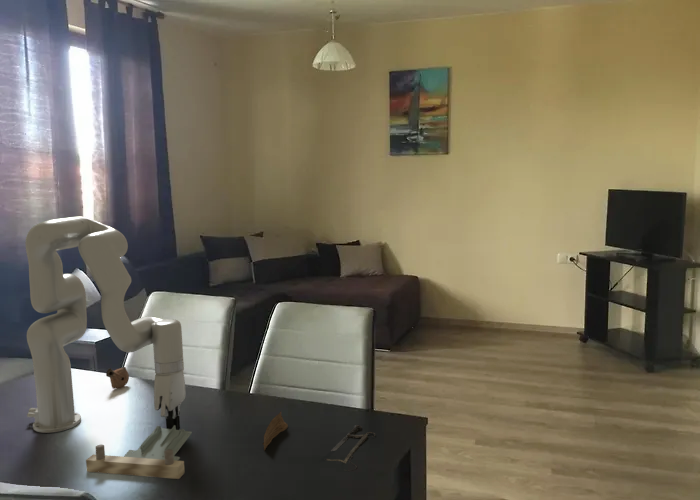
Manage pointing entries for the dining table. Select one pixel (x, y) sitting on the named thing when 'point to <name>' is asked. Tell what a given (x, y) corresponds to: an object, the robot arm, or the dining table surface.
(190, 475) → the dining table surface
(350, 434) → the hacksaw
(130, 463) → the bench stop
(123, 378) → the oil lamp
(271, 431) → the wood plank
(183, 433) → the metal bracket
